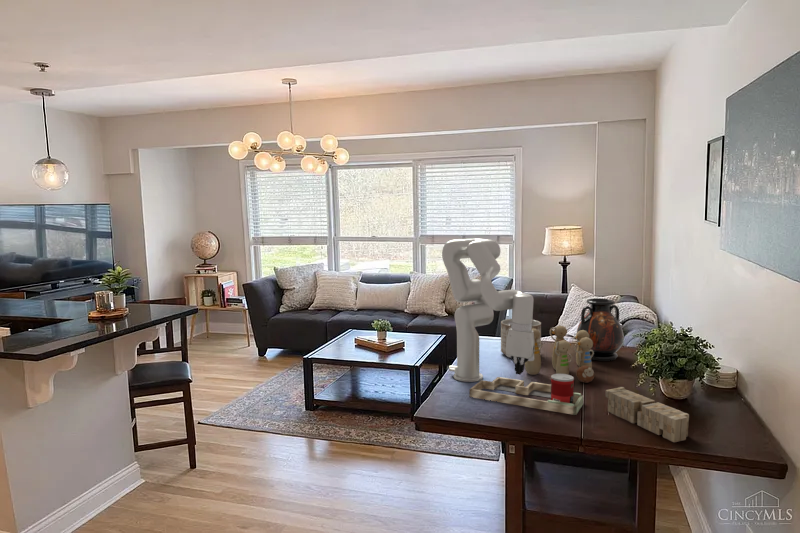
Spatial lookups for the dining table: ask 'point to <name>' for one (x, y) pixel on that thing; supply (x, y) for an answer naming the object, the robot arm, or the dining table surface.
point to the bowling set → (565, 354)
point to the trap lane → (519, 388)
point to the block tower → (648, 414)
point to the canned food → (562, 388)
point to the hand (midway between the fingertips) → (518, 373)
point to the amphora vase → (602, 329)
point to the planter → (506, 327)
